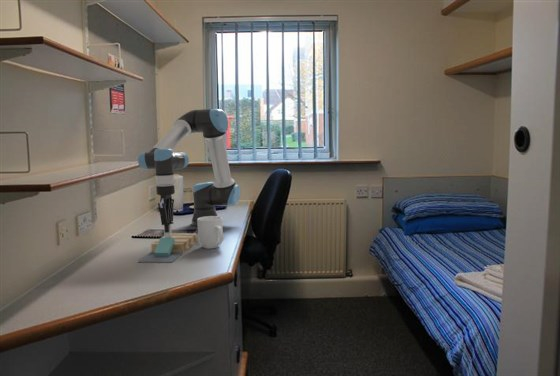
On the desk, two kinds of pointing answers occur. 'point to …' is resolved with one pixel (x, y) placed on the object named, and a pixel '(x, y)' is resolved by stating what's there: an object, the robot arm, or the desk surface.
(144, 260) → the mat
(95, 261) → the desk surface
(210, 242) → the mug
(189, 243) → the board
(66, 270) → the desk surface
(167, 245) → the teal rectangular block
